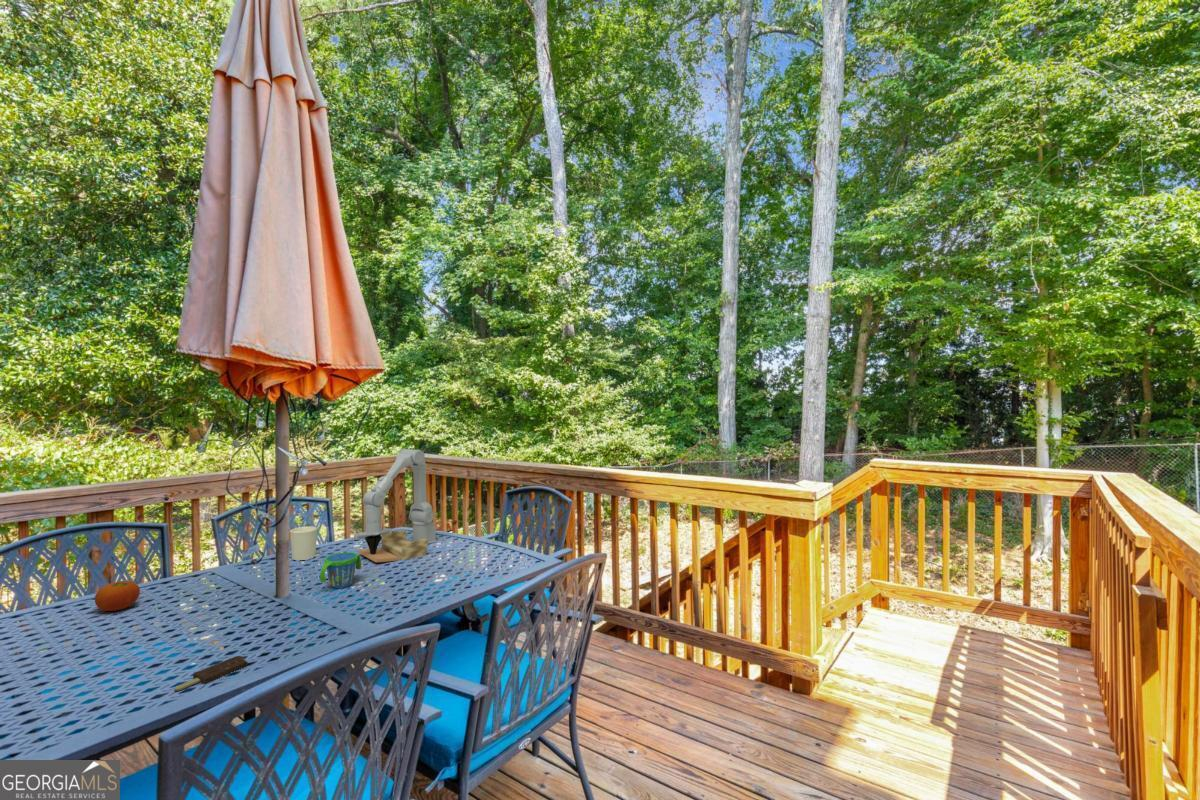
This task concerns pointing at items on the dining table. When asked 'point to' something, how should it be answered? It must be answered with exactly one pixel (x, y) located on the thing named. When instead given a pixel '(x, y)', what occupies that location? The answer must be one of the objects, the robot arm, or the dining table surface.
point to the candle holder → (303, 542)
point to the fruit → (117, 595)
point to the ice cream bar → (215, 672)
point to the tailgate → (378, 555)
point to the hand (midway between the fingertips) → (372, 554)
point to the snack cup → (340, 569)
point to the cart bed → (404, 545)
